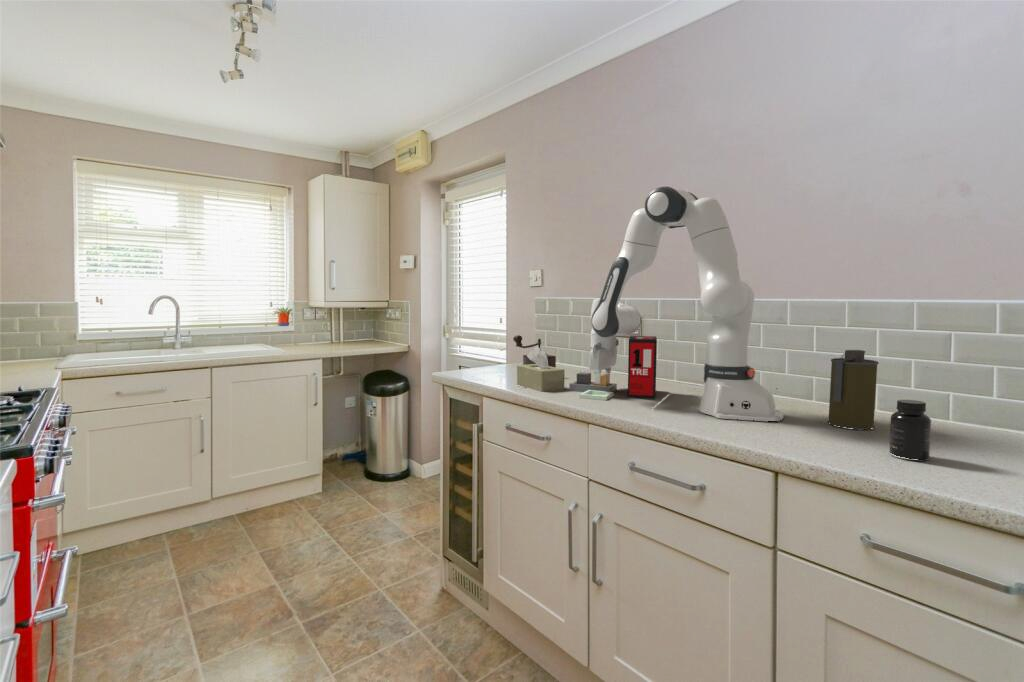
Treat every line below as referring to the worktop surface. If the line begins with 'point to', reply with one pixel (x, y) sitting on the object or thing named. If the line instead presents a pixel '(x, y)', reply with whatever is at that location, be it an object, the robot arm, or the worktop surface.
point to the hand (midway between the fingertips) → (602, 381)
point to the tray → (596, 395)
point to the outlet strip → (592, 387)
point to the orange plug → (604, 380)
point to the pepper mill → (518, 340)
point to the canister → (853, 391)
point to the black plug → (584, 378)
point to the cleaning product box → (642, 367)
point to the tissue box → (540, 373)
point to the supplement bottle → (910, 430)
